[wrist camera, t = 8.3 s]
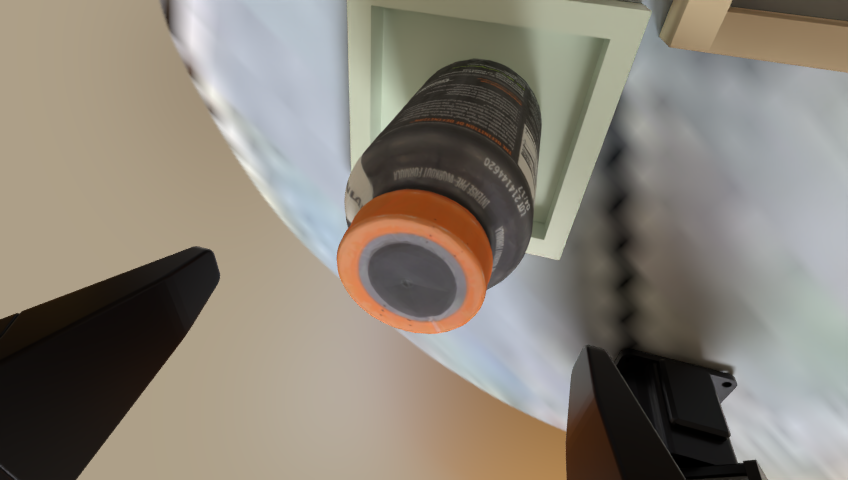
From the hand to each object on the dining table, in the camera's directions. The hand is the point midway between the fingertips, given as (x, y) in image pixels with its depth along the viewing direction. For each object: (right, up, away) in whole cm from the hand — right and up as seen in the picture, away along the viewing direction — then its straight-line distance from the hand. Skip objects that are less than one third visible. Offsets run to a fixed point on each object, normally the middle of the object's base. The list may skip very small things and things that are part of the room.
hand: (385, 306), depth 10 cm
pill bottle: (+3, +7, +10) cm, 13 cm away
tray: (+3, +7, +10) cm, 13 cm away
